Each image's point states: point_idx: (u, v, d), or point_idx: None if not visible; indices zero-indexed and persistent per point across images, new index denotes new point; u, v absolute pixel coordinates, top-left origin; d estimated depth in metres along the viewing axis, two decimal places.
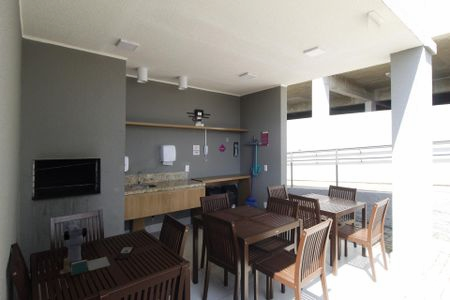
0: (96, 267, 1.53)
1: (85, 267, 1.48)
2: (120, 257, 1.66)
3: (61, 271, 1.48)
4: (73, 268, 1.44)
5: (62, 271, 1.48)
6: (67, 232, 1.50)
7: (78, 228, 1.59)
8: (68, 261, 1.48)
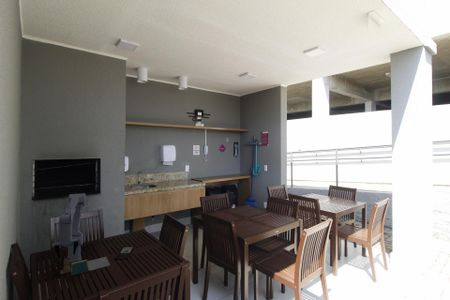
0: (96, 267, 1.53)
1: (85, 267, 1.48)
2: (120, 257, 1.66)
3: (61, 271, 1.48)
4: (73, 268, 1.44)
5: (62, 271, 1.48)
6: (58, 250, 1.44)
7: (70, 237, 1.48)
8: (68, 261, 1.48)
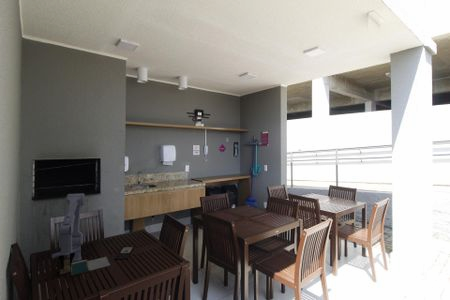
0: (96, 267, 1.53)
1: (85, 267, 1.48)
2: (120, 257, 1.66)
3: (61, 271, 1.48)
4: (73, 268, 1.44)
5: (62, 271, 1.48)
6: (62, 260, 1.46)
7: (70, 248, 1.48)
8: (68, 261, 1.48)
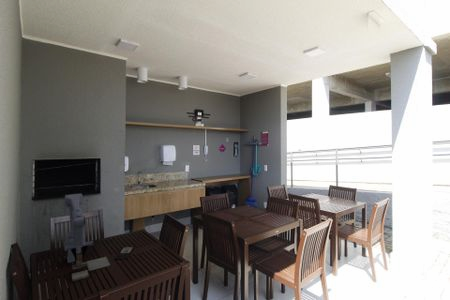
0: (96, 267, 1.53)
1: None
2: (120, 257, 1.66)
3: (73, 266, 1.45)
4: None
5: (74, 266, 1.45)
6: (74, 253, 1.43)
7: (83, 241, 1.46)
8: (81, 256, 1.46)
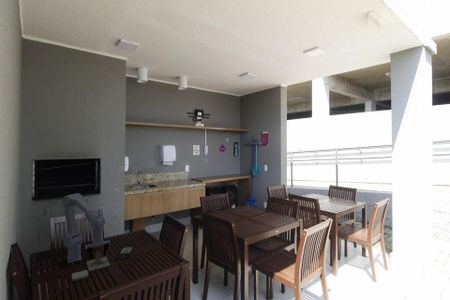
0: (96, 267, 1.53)
1: None
2: (119, 257, 1.66)
3: (93, 263, 1.57)
4: None
5: (94, 263, 1.57)
6: (90, 252, 1.54)
7: (101, 240, 1.57)
8: (99, 254, 1.57)
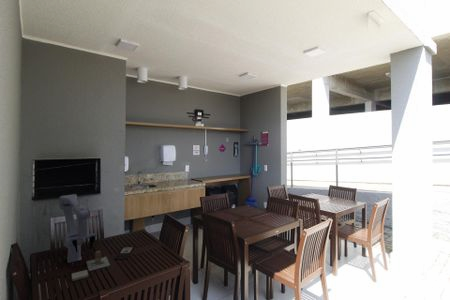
0: (96, 267, 1.53)
1: None
2: (119, 257, 1.66)
3: (93, 263, 1.57)
4: None
5: (94, 263, 1.57)
6: (75, 244, 1.50)
7: (87, 232, 1.54)
8: (99, 254, 1.57)
